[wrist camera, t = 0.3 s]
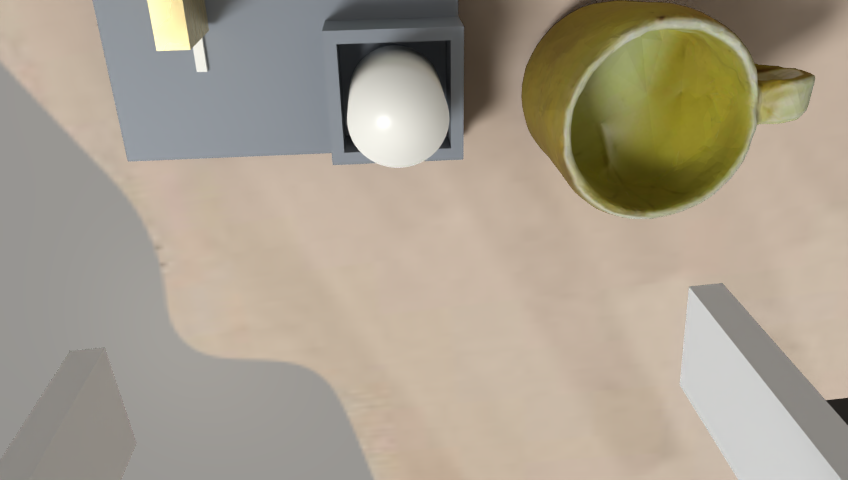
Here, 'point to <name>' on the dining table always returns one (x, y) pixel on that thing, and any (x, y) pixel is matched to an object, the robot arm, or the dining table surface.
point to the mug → (651, 104)
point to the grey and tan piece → (178, 23)
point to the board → (268, 75)
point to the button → (396, 107)
